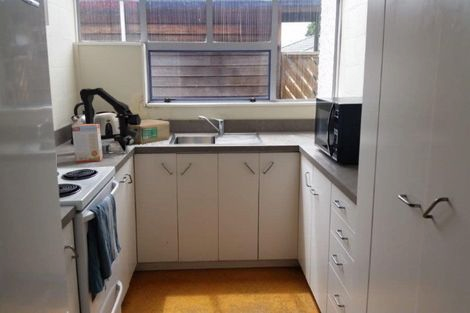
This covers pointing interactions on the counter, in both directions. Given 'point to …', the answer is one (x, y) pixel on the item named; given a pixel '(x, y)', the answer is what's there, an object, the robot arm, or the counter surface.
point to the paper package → (151, 131)
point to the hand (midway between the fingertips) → (125, 150)
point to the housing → (105, 148)
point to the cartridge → (118, 149)
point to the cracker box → (87, 142)
